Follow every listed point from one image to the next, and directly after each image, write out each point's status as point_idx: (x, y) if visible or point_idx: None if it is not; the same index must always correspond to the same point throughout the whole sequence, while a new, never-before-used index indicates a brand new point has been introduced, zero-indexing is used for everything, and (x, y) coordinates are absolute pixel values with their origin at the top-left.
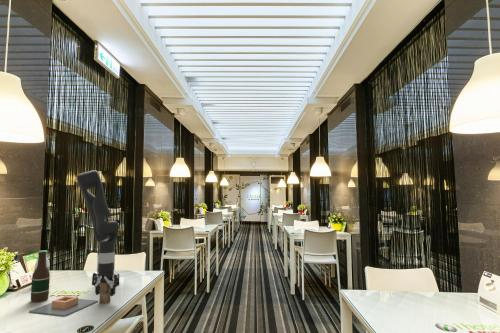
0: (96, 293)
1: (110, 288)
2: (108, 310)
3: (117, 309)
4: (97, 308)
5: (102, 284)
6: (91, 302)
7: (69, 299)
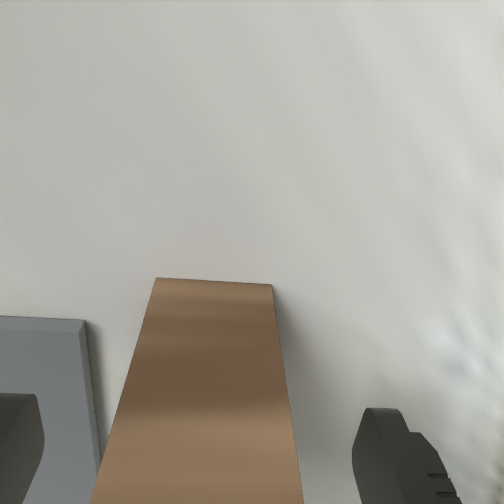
0: (25, 473)
1: (299, 498)
2: None
3: (495, 463)
4: None
5: None
6: (54, 405)
7: None
